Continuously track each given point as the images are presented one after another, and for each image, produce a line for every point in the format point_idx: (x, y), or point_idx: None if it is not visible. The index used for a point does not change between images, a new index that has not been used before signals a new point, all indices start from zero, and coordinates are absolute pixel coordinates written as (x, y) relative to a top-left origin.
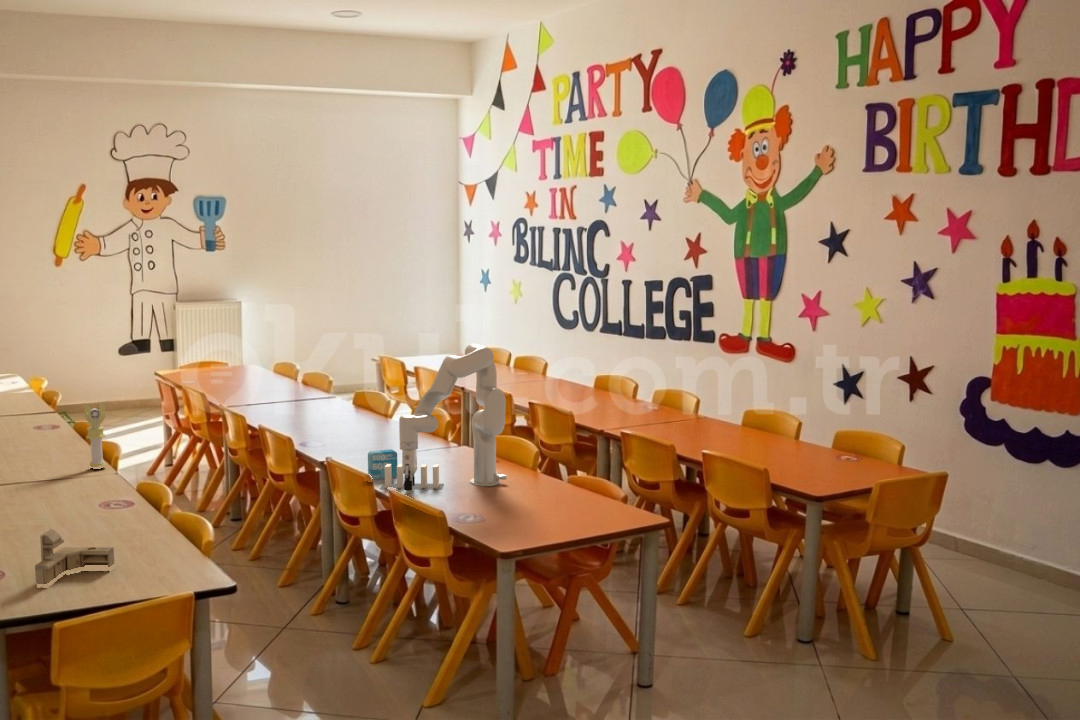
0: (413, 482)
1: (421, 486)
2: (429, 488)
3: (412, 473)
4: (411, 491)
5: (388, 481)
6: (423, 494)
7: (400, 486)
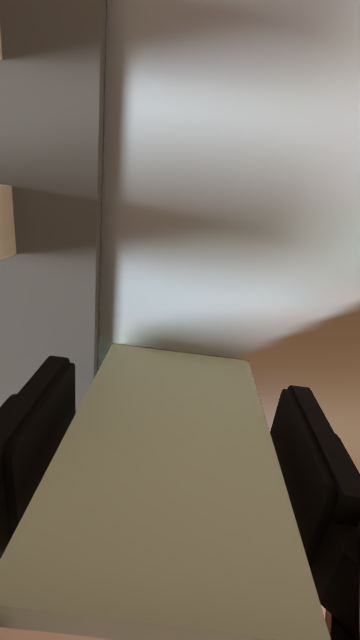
0: (57, 392)
1: (4, 251)
2: (27, 124)
3: (9, 562)
4: (218, 369)
5: None
6: (283, 216)
7: None
